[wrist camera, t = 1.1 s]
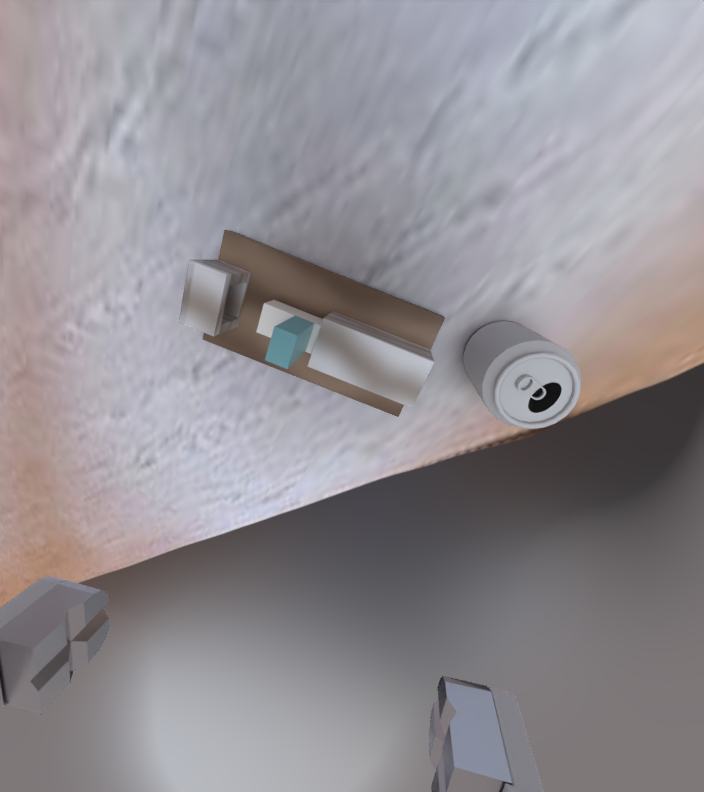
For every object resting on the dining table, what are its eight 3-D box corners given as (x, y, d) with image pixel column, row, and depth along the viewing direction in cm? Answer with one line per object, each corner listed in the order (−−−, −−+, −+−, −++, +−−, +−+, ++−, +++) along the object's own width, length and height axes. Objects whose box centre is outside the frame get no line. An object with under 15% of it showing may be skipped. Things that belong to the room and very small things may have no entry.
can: (499, 399, 40) (538, 454, 29) (447, 361, 39) (466, 401, 28) (550, 347, 37) (615, 384, 26) (495, 304, 36) (537, 324, 25)
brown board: (231, 231, 37) (195, 224, 30) (443, 316, 37) (452, 328, 31) (209, 336, 41) (173, 350, 35) (398, 411, 42) (397, 439, 35)
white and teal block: (274, 299, 36) (236, 311, 28) (417, 357, 37) (422, 385, 28) (266, 326, 37) (228, 345, 29) (406, 382, 38) (407, 416, 29)
